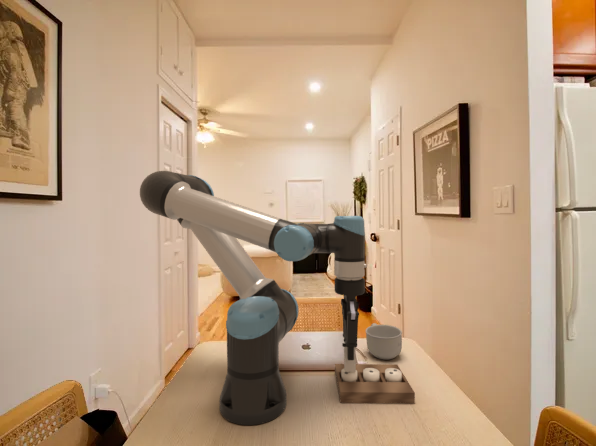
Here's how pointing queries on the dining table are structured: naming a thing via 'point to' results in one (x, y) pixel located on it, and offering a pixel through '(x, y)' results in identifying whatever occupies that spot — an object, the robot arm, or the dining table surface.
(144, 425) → the dining table surface
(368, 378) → the button one
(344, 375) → the button three
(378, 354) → the teacup
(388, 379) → the button two
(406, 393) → the panel
